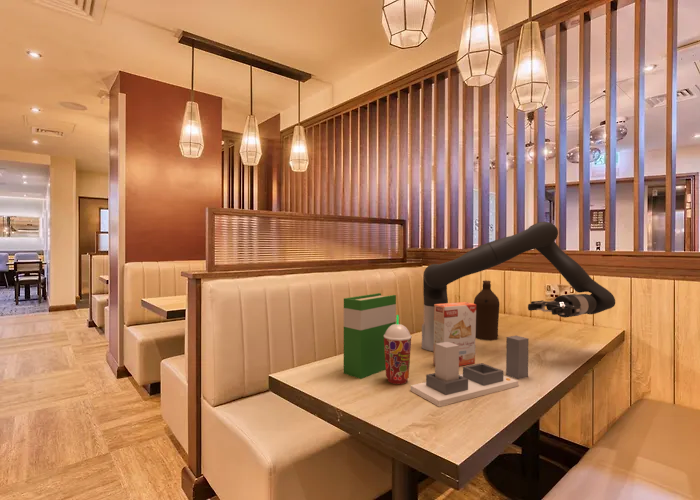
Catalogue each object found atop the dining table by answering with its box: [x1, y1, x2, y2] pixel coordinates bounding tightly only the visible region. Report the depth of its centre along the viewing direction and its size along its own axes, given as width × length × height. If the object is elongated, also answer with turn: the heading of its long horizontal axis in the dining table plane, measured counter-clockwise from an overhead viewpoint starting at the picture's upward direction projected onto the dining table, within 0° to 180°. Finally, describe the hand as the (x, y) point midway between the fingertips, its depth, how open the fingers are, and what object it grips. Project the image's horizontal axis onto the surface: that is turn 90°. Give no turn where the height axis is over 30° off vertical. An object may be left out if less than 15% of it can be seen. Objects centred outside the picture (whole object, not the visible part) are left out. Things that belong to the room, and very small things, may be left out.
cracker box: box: [432, 301, 477, 367], centre depth 132 cm, size 14×6×21 cm, turn 115°
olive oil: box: [473, 280, 500, 341], centre depth 168 cm, size 11×11×25 cm
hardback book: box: [343, 292, 397, 380], centre depth 126 cm, size 18×7×24 cm, turn 136°
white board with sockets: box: [409, 342, 520, 408], centre depth 110 cm, size 12×30×14 cm, turn 118°
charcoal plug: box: [505, 335, 529, 380], centre depth 120 cm, size 4×4×12 cm
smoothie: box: [384, 314, 412, 385], centre depth 116 cm, size 8×8×20 cm
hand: (540, 309), depth 125 cm, fingers open, 8 cm apart
